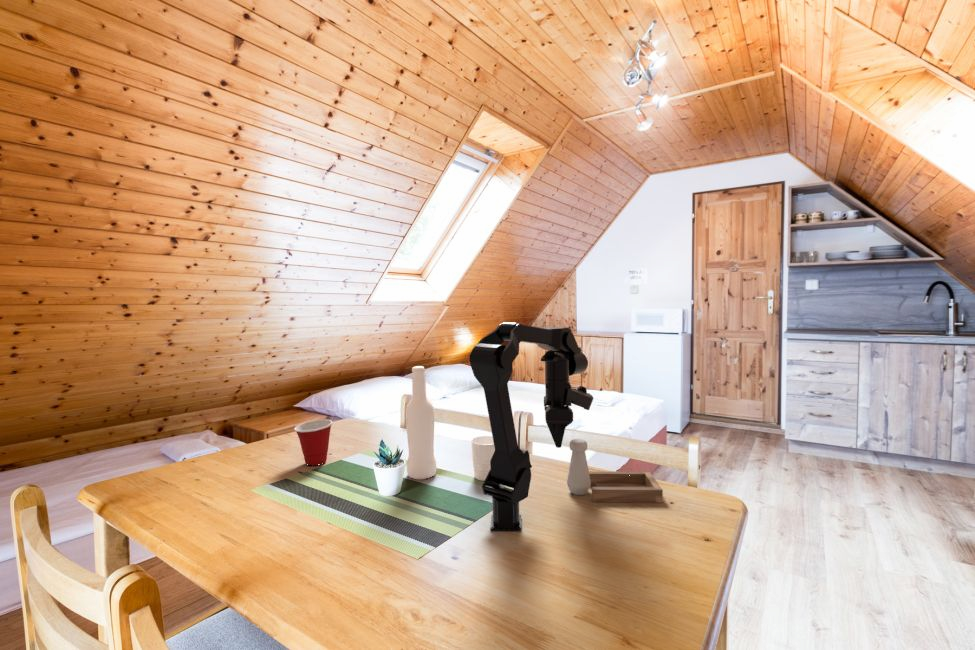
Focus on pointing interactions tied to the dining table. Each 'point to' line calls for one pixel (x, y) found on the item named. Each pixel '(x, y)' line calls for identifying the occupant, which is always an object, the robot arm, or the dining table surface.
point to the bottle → (420, 429)
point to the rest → (625, 487)
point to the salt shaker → (578, 468)
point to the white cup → (482, 455)
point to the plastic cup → (314, 440)
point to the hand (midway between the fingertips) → (557, 441)
